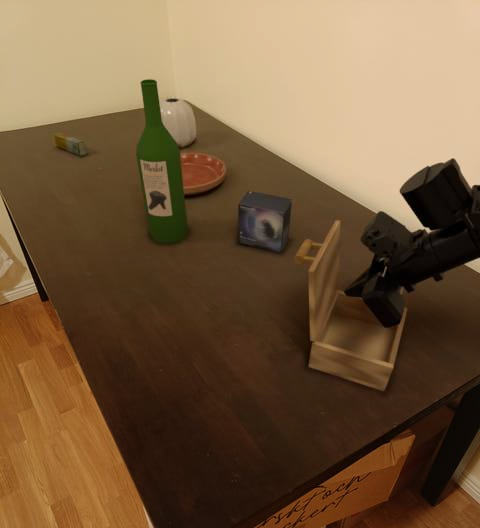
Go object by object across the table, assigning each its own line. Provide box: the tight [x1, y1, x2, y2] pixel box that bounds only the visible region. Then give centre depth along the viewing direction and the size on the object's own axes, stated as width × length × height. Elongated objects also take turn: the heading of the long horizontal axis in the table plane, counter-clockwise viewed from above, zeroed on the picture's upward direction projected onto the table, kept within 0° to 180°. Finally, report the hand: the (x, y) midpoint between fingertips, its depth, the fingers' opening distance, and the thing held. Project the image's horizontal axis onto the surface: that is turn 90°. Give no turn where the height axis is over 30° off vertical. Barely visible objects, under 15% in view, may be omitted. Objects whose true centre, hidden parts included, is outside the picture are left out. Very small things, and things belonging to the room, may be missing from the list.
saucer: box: [180, 152, 227, 196], centre depth 120 cm, size 23×23×4 cm
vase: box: [159, 96, 197, 149], centre depth 136 cm, size 14×14×13 cm
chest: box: [307, 289, 408, 392], centre depth 73 cm, size 13×15×6 cm
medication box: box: [53, 132, 87, 157], centre depth 135 cm, size 12×3×4 cm, turn 54°
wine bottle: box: [135, 78, 189, 244], centre depth 90 cm, size 9×9×32 cm
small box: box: [237, 190, 293, 254], centre depth 95 cm, size 11×6×10 cm, turn 68°
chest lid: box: [293, 219, 341, 343], centre depth 69 cm, size 13×15×5 cm
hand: (345, 292), depth 68 cm, fingers closed
